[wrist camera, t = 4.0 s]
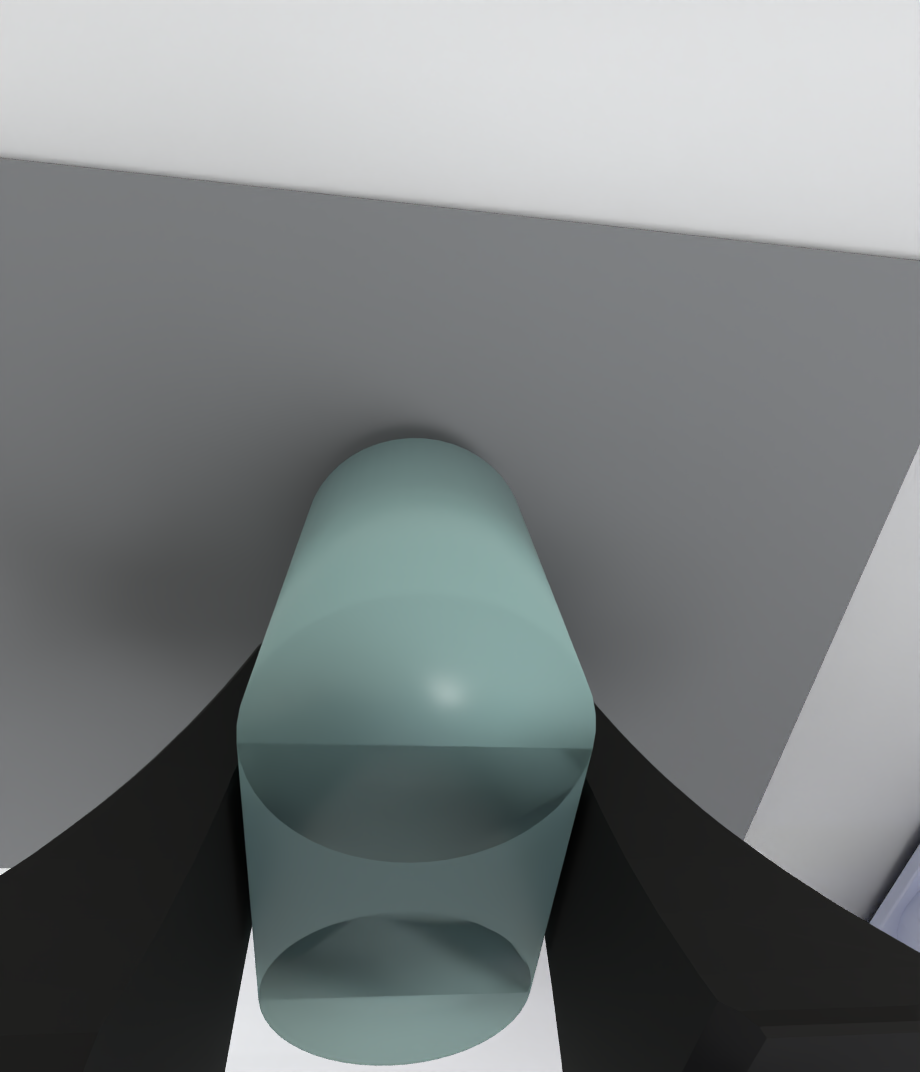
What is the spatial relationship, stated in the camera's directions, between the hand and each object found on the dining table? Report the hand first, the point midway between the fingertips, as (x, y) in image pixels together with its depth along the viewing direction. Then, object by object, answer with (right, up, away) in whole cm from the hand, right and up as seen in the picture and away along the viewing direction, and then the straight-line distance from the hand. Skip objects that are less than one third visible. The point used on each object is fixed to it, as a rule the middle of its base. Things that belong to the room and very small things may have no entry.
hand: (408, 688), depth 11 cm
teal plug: (0, -1, +2) cm, 2 cm away
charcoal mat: (0, +1, +2) cm, 3 cm away
